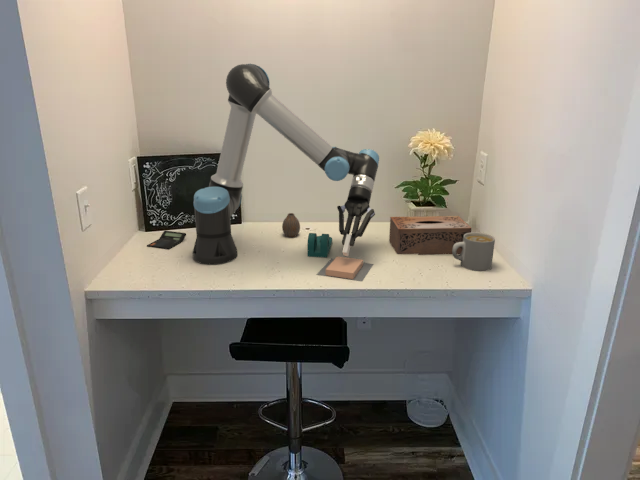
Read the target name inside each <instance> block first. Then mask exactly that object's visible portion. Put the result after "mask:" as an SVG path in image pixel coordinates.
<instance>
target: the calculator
mask: <svg viewBox="0 0 640 480" xmlns="http://www.w3.org/2000/svg"><path fill="white" fill-rule="evenodd" d="M186 237H187V233H186V232H180V231H171V230H164V231H163V232H162V234H161V235H160V236H159V238H158V239H156V240H154V241H153V242H152V241H151V242H150V243H149V244H147V245H146V247H148V248H154V249H162V250H168V251H169V250H171V249H173V248H175V247H177V246H178V245H179V244H182V243H181V242H183V241H184V239H185V238H186Z"/></svg>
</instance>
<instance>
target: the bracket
mask: <svg viewBox="0 0 640 480" xmlns="http://www.w3.org/2000/svg"><path fill="white" fill-rule="evenodd" d="M332 245H333V237H332V236H330V234H329V233H321V235H317V233H315V232H309V233H308V237H307V245H306V246H307V257H309V258H310V257H312V258H328V255H329V253H330V250H331V248H332Z"/></svg>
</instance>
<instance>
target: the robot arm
mask: <svg viewBox="0 0 640 480" xmlns="http://www.w3.org/2000/svg"><path fill="white" fill-rule="evenodd" d="M225 80H226V81H225V84H226V85H225V86H226V89H227V91H228V92H227V93H228V98H227V102H228V104H229V105H230V110H229V114H228V119H227V120H228V121H227V124H226V129H225V134H224V136H223V137H224V138H223V141H222V147H221V150H220V154H219V161H218V163H217V164H218V165H217V169H216V172H215V174H212V175H211V176H210V180H209V185H208V186H207V187H204V188H200V189H198V190H197V191H195V193H194V195H193V208H194V210H193V211H194V222H195V231H196V232H195V234H196V238H195V242H194V246H193V249H192V259H193V261H194V262H196V263H199V264H202V265H220V264H221V265H222V264H225V263H229V262H233V261H235V259H236V258H238V248H237V245H236V243H235V240H234V237H233V235H232V227H231V225H232V222H231V217H232V215H233V214H234V213H235V212H236V211H237V210H238V209H239V207H240V206H241V203H242V197H243V196H242V195H243V194H242V192H243V188H244V183H243V182H242V180H241V178H242V177H241V176H242V173H243V169H244V165H245V161H246V157H247V153H248V149H249V145H250V140H251V136H252V133H253V128H254V127H253V126H254V123H255V121H256V115H257V116H259V117H260V118H261V119H263V120H264V121H265V122H266V123H267V124H269V125H270V126H271V127H272V128H273V129H274V130H276V131H277V132H278V133H279V134H280V135H281V136H283V137H284V139H286V140H287V141H288V142H290V143H291V144H292V145H293V146H295V148H297V149H298V150H299V151H300V152H301V153H303V154H304V155H305V156H306V157H308V158H309V159H310V161H312V162H314V163H315V165H316V166H318V167H319V168H320V169H321V170H323V172H324V174H325V175H326V177H327V178H328V179H330V180H332V181H334V182H340V181H343V180H344V179H345V178H346V177H347V176H348V175H352V179H351V184H350V186H349V188H350V189H349V191H348V194H347V195H348V196H347V199H346V201H345V202H344V205H337V207H336V208H337V210H338V231H339V233H340V235H343V236H342V241H341V243H342V245H343V249H342V254H343V257H345V256H346V257H349V255H350V252H351V247H354V246H355V243H356V239H357V238H358V237H359V238H361V237H363V235H364V234H365V231H366V229H367V227H368V226H369V223H370V222H371V219H373V217H375V215H376V211H375V210H374V209H373V208H371V206H370V202H371V197H372V193H373V189H374V185H375V181H376V176H377V174H378V173H377V172H378V168H379V163H380V162H379V161H380V156H379V154H378V152H377V151H375V150H374V149H370V148H368V149H367V148H363V149H361V150H360V151H359V153H357V152H352V151H350V150H345V149H342V148H339V147H338V146H332V145H331V144H330V143H328V142H327V140H325V139H324V138H323V137H321V136H320V134H318V133H317V132H316V130H315V131H314V130H313V129H312V127H311V126H309V125H308V124H307V123H305V122H304V121H303V120H302V119H301V118H300V117H299V116H298V115H296V114H295V113H294V112H293V111H292V110H291V109H289V108H288V107H287V106H286V105H285V104H284V103H282V102H281V101H280V100H279V99H278V98H277V97H276V96H275V95H273V91H272V89H271V88H270V78H269V75H268V74H267V71H265V69H264V68H262V67H261V66H260V65H257V64H253V63H244V64H243V63H242V64H237V65H236V66H234V67H232V68H231V69H230V70H229V72H228V73H227V76H226V78H225ZM346 211H347V218H346V223H345V214H344V213H345V212H346ZM365 214H366V215H365ZM364 215H365V216H364ZM363 216H364V218H363V219H362V217H363ZM353 220H354V221H353ZM361 221H362V222H361ZM352 225H353V227H352ZM351 229H352V231H351ZM350 233H351V234H350Z"/></svg>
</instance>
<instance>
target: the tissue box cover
mask: <svg viewBox="0 0 640 480" xmlns="http://www.w3.org/2000/svg"><path fill="white" fill-rule="evenodd" d="M389 218H390V219H389V236H388V237H389V238H388V239H389V240H388V242H389V244H390V246H391V248H393V250H394V252H395V253H396V255H418V256H432V255H433V256H435V255H436V256H437V255H452V248H453V246H454V244H455V243H458V242H463V237H464V235H465V234H466V233H472V227H471V226H470V225H469V224H468V223H466V221H464V219H462V218H461V217H460V216H459V215H438V216H437V215H434V216H433V215H429V216H417V215H416V216H390V217H389ZM461 252H462V247H459V248H458V249H457V251H456V254H457V255H460V254H461Z"/></svg>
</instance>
